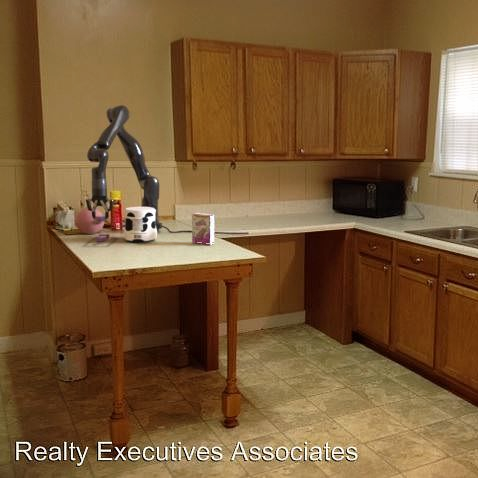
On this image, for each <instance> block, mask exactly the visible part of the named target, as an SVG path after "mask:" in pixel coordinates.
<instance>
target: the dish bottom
mask: <svg viewBox="0 0 478 478" xmlns="http://www.w3.org/2000/svg"><path fill="white" fill-rule="evenodd" d="M94 241H97V242H103V243H105V242H104V241H107V240H106V236H99V235H96V236H94ZM97 242H96V243H97Z"/></svg>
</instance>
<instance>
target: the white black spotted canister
mask: <svg viewBox="0 0 478 478" xmlns="http://www.w3.org/2000/svg"><path fill="white" fill-rule="evenodd" d="M124 220H125V221H124V222H125V223H124V228H123V238H124V239H125V241H127V242H129V243H135V244H138V243H139V244H141V243H142V244H145V243H150V242H154V241H155V240H156V239H157V236H158V233H157V229H156V225H155V209H154V208H152V207H142V206H130V207H125V210H124Z"/></svg>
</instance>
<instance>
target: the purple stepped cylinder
mask: <svg viewBox="0 0 478 478" xmlns="http://www.w3.org/2000/svg"><path fill="white" fill-rule="evenodd" d="M102 215H103V214H102ZM102 215H101V216H95V221H99V222H102V221H104V222H105V221H107V219H105V215H103V216H102Z"/></svg>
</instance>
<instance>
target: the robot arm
mask: <svg viewBox="0 0 478 478" xmlns="http://www.w3.org/2000/svg"><path fill="white" fill-rule="evenodd" d="M105 114H106V119H107V121H108V123H109V124H108V125H107V126H106V128H104V129H103V130H102V131H101V133H100V135H99V136H98V139H97V140H96V142H94V143H93V144H92V145H91V146H90V147H89V148H88V150H87V152H86V158H87V160H88V161H89V162H90V163H98V165H97V166H92V167H91V169H90V170H91V171H90V173H91V183H90V185H91V198H87V199H85V203H86V208H88V210H89V211H91V212H92V218H93V219H95V216H96V211H95V210H96V209H97V207H102V208H103V209H104V211H105V213H104V216H105V219H106V220H108V219H109V217H110V212H111V211H113V208H114V201H115V200H114V199H113V198H108V184H107V183H108V182H107V174H106V171H107V167H108V166H107V165H108V161H109V157H110V156H109V155H110V154H109V152H108V150H109V149H110V148H111V146H112V144H113V142H114V140H115V138H116V136H117V138H118V140H119V142H120V144H121V147H122V148H123V151H124V153H125V155H126V157H127V159H128V161H129V163H130V165H131V167H132V169H133V171H134V174H135V176H136V179H137V181H138V185H139V187H140V188H141V189H142V190H143V197H142V198H141V207H152V208H154V209H155V225H156V229H157V234H159V232H160V230H161V229H162V228H163V229H166V230H167V232H168V233H171V234H178V233H192V230H178V231H172V230H170V229H169V227H167V226H165V225H163V223H162V222H160V215H159V200H160V181H159V179H158V178H157V177H156V176H154V175H152V174H151V173H150V170H149V169H148V167H147V164H146V158H145V153H144V150H143V148H142V146H141V144H140V142H139V140H138V139H137V138H136V137H135V136H133V135H132V134H131V133H130V132H129V131H127V129H126V128H125V124H126V123H127V121H128V120H129V119H130V116H131V115H130V109H129V108H128V107H127V106H126V105H124V104H118V105H115V106H111V107H109V108H107V109H106V113H105ZM91 203H92V204H93V206H92V205H91ZM107 203H108V204H109V207H108V205H107ZM91 207H92V208H91ZM214 234H220V235H221V234H224V235H249V232H248V231H247V232H244V231H243V232H233V231H232V232H228V231H227V232H225V231H214Z"/></svg>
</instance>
